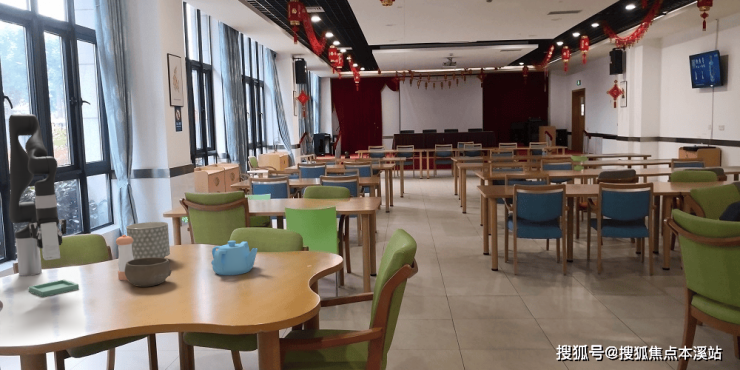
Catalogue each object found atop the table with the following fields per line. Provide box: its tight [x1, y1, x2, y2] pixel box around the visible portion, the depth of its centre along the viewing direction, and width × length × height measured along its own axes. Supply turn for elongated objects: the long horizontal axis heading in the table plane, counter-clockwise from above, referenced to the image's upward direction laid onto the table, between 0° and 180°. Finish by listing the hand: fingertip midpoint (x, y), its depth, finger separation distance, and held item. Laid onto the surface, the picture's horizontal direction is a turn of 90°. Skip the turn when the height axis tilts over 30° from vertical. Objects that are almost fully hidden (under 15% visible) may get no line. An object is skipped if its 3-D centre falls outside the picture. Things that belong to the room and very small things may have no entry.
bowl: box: [125, 257, 172, 288], centre depth 254 cm, size 17×18×10 cm
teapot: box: [210, 240, 258, 276], centre depth 272 cm, size 19×19×14 cm
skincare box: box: [40, 222, 61, 261], centre depth 248 cm, size 8×6×15 cm
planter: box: [125, 221, 171, 259], centre depth 297 cm, size 19×19×18 cm
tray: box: [28, 279, 80, 298], centre depth 250 cm, size 14×14×2 cm
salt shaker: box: [115, 234, 134, 281], centre depth 265 cm, size 7×7×19 cm
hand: (50, 246), depth 248 cm, fingers closed on skincare box, 6 cm apart
